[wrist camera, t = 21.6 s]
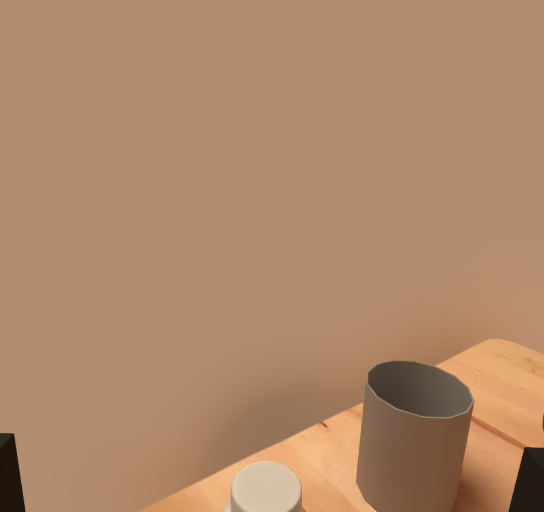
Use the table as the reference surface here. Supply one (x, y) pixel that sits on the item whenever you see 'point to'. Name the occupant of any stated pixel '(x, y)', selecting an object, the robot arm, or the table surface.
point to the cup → (412, 437)
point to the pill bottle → (265, 489)
